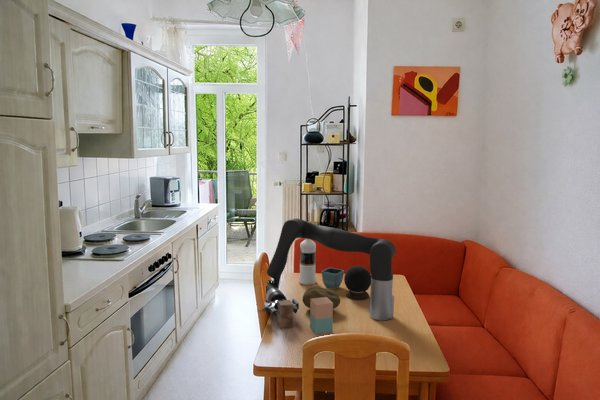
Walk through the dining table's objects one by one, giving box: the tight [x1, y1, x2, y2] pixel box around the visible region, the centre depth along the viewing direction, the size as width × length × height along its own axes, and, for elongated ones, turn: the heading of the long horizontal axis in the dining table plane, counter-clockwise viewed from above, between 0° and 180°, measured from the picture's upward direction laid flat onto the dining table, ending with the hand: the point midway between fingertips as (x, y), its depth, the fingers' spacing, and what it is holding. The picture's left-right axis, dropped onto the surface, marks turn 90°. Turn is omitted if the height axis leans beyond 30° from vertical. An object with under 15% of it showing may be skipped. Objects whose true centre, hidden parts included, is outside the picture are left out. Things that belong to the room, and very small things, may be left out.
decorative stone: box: [302, 285, 341, 310], centre depth 198 cm, size 17×11×10 cm, turn 79°
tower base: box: [309, 312, 334, 335], centre depth 178 cm, size 7×7×6 cm
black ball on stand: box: [343, 265, 371, 301], centre depth 216 cm, size 13×13×15 cm
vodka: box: [298, 238, 317, 286], centre depth 234 cm, size 9×9×30 cm
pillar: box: [277, 299, 294, 330], centre depth 181 cm, size 5×5×10 cm
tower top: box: [309, 297, 334, 320], centre depth 177 cm, size 7×7×6 cm
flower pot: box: [321, 267, 345, 290], centre depth 228 cm, size 9×9×9 cm
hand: (285, 312), depth 180 cm, fingers open, 8 cm apart
